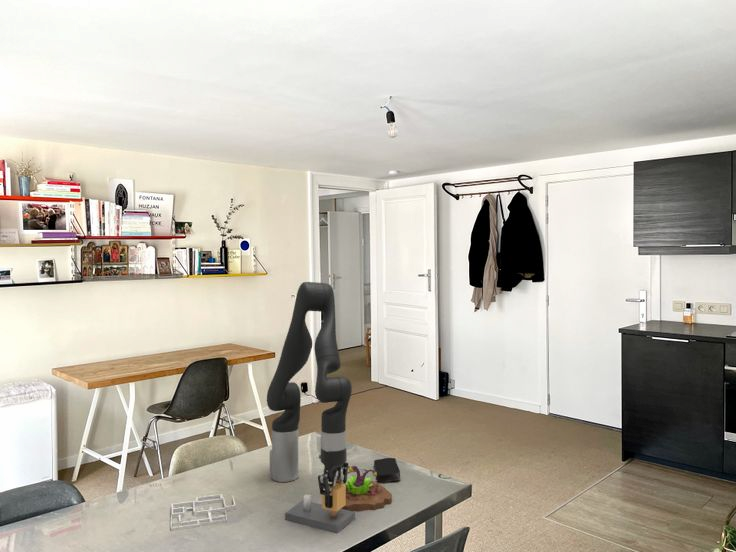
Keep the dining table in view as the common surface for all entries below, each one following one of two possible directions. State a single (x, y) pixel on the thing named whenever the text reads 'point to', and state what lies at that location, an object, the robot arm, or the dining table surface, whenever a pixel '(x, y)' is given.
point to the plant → (365, 493)
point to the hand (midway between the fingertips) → (333, 503)
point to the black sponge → (386, 470)
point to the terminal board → (319, 516)
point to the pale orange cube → (336, 497)
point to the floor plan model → (201, 512)
